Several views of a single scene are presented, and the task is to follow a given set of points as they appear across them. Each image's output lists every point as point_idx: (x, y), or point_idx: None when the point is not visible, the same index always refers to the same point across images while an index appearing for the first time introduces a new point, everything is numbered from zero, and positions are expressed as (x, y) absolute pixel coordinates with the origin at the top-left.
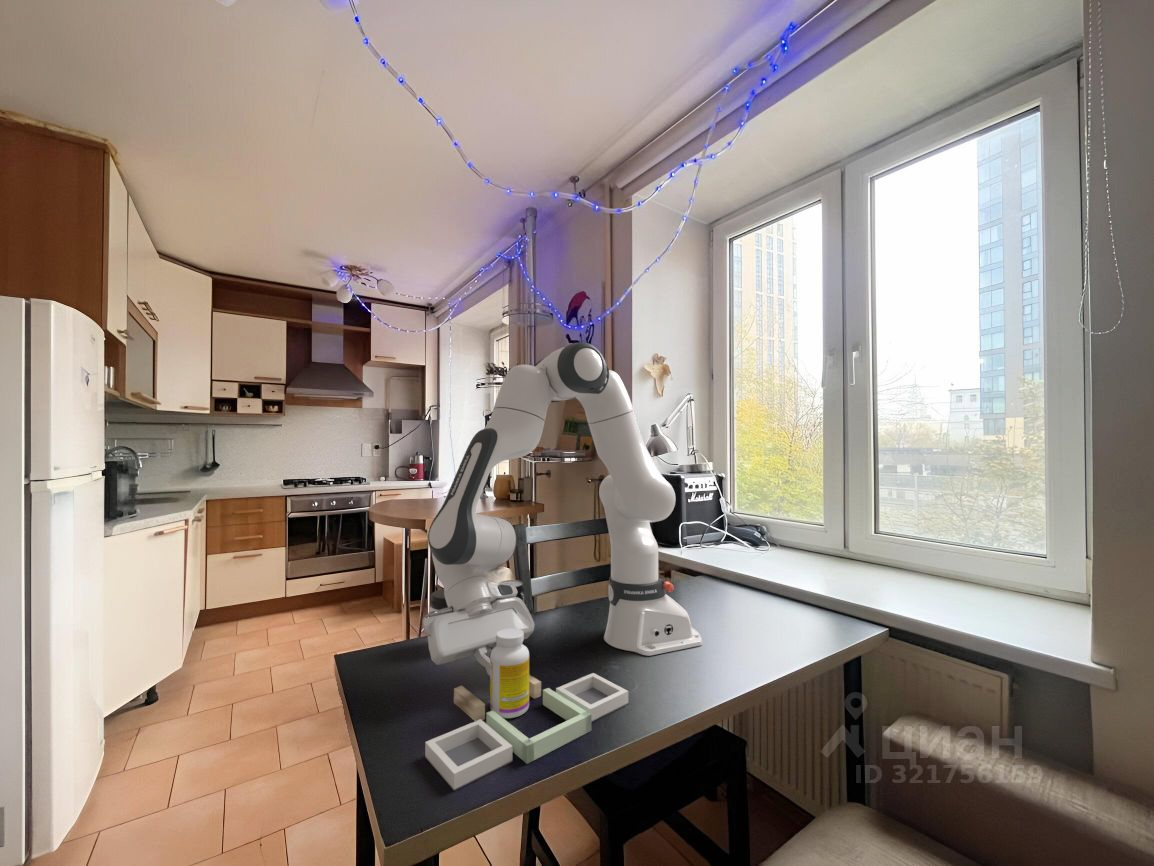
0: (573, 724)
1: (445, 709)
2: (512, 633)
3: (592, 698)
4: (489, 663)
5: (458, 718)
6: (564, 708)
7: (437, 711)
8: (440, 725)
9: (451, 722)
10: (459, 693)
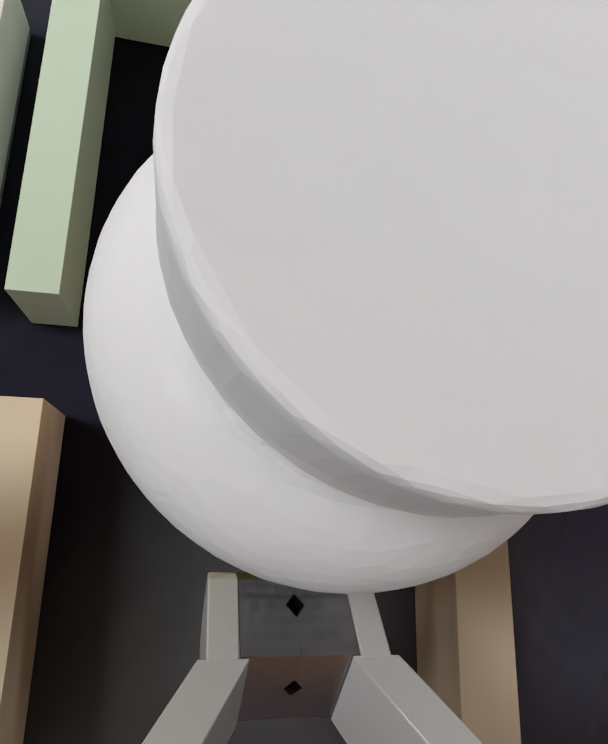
0: None
1: (529, 682)
2: (473, 102)
3: None
4: (386, 640)
5: (508, 540)
6: (92, 105)
7: (570, 691)
8: (596, 542)
9: (547, 530)
10: (514, 666)
